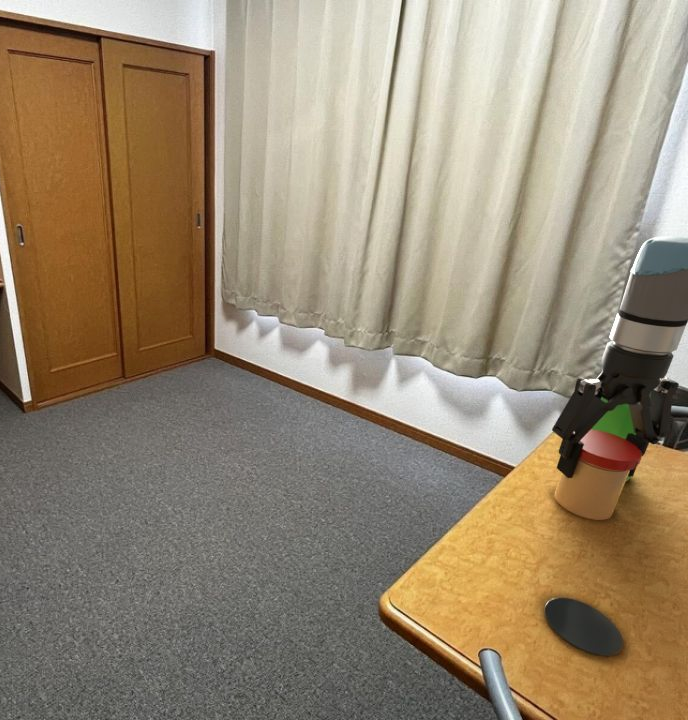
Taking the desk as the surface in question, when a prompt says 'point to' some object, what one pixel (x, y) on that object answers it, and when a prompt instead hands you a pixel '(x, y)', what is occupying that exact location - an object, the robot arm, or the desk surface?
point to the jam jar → (591, 490)
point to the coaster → (583, 627)
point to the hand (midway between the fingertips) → (594, 472)
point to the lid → (609, 451)
